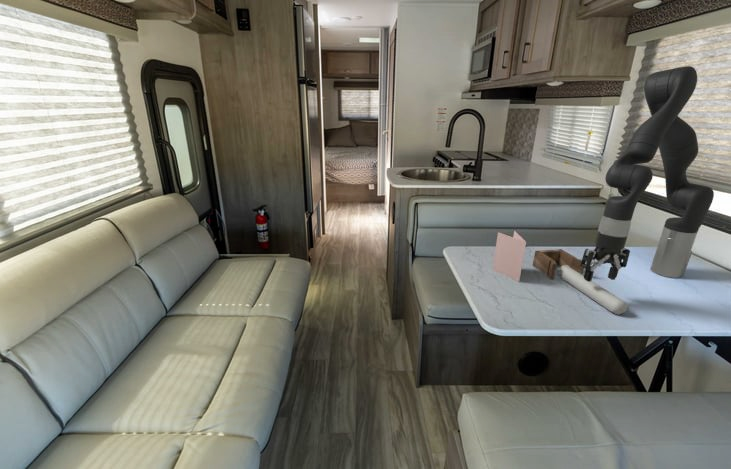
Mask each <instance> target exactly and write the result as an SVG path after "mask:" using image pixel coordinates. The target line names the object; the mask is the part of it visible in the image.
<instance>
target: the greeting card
mask: <svg viewBox="0 0 731 469" xmlns="http://www.w3.org/2000/svg"><path fill="white" fill-rule="evenodd" d="M527 246H528V244H527V242H526V240H525V239H524V238H523V237H522V236H521V235H519V233H517V231H515V230H514V231H513V235H512V236H510V235H507V234H505V233H501V232H497V236H496V243H495V250H494V255H493V256H494V258H493V262H492V263H493V264H492V271H494V272H496V273H499V274H501V275H503V276H505V277H507V278H509V279H511V280H514V281H516V282H519V283H520V279H521V273H522V269H523V263H524V256H525V251H526V248H527Z"/></svg>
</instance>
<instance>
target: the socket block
mask: <svg viewBox="0 0 731 469" xmlns="http://www.w3.org/2000/svg"><path fill="white" fill-rule="evenodd" d="M581 261H582V259H579V258H578V257H576V256H574V255H572V254H570V253H569V252H567V251H566V250H564V249H561V248H557V249H556V248H555V249H545V250H544V249H543V250H535V251H534V256H533V260H532V266H533V267H534V268H535V269H537V270H539V271H540V272H542V273H543V274H545V275H546V276H547V277H548V280H551V281H552V280H554V279H555V278H554V277H555V274H556V269H557V266H558V267H560V268H561V267H562V266H565V265H568V266H569V267H571V268H572V269H573V270H575V271H577V272H578V273H580V274H581V275H583V276H584V272H585V268H583V267H581V266H580V264H581Z"/></svg>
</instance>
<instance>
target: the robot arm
mask: <svg viewBox="0 0 731 469" xmlns="http://www.w3.org/2000/svg"><path fill="white" fill-rule="evenodd" d="M697 83H698V73H697V69H696V68H694V67H693V66H691V65H690V66H689V65H687V66H680V67H679V66H678V67H675V68H670V69H669V68H668V69H665V70H659V71H656V72H653V73H651V74H649V75H648V76H647V77H646V78H645V82H644V98H645V101H646V104H647V107H648V110H649V113H650V115H651V116H650V117H648V119H646V120H645V121H644V122H642V123H641V124H640V125H639V126H638V127H637V128H636V130H635V131H634V132H633V134H632V136H631V138H630V141H629V143H628V144H627V147H626V149H625V150H624V152H622V154H621V155H620V156H618V158H617V159H616V161H614V162H613V164H612V165H611V166H609V168H608V170H607V172H606V174H605V178H604V180H605V183H606V185H607V186H609V187H610V188H613V189H620V190H626V191H630V193H629V194H628V195H616V196H615V195H613V196H610V197H608V199H607V200H606V204H605V207H604V210H603V215H602V217H601V219H600V222H599V226H598V229H597V233H596V235H595V236H596V237H595V241H594V243H595V248H594V249H592V250H591V249H589V248H586V249H585V250H584V251H583V254H582V257H581V258H582V259H581V260H582V261H581V264H580V266H581V267H583V268H584V273H583V276H584V279H585V280H586V281H588V282H591V281H593V276H594V273H595V272H594V271H595V270H596V269H597V268H598V267H600V266H601V265H602V264H603V265H605V264H610V267H609V271H608V274H607V278H608V279H610V280H612V281H614V280H616V278H617V277H618V274H619V270H620V269H622V268H626V267H627V265H628V261H629V257H630V253H631V250H630V249H628V248H626V247H625V246H626V243H627V239H628V235H629V232H630V229H631V225H632V223H631V222H632V219H633V216H634V212H635V209H636V206H637V204H638V202H639V200H640V198H641V197H642V195H643V194H644V193H645V191H646V189H647V188H648V187H649V186H650V184H651V182H652V180H653V177H654V176H653V174H654V173H653V171H652V169H651V168H650V167H648V166H644V165H641V164H646V163H649V162H651V161H652V160H654V158H655V156H656V153H657V152H658V149H659V154H660V158H661V160H662V166H663V172H664V177H665V178H664V179H665V193H666V200H667V204H668V205H669V206H670V207H672V208H675V209H678V210H682V211H685V212H684V214H683V216H681V217H676V216H675V217H669V218H666V220H665V222H664V225H663V228H662V230H661V233H660V234H661V235H660V237H659V240H658V244H657V246H656V249H655V253H654V255H653V258H652V262H651V265H650V268H649V269H650V271H651V272H653V273H655V274H656V275H659V276H663V277H665V278H666V277H667V278H673V279H677V278H682V277H683V276H684V275H685V272H686V270H687V267H688V264H689V262H690V259H691V256H692V254H693V251H692V249H693V246H694V243H695V240H696V238H697V236H698V233H699V230H700V227H701V226H702V225H703V223H704V221H705V219H706V217H707V214H708V213H709V210H710V208H711V205H712V204H713V201H714V196H715V192H714V189H713V188H712V187H710V186H706V185H701V184H697V183H691V182H689V180H688V179H687V178H688V177H687V170H688V168H689V167H690V166H691V165H692V163H693V162H694V161H695V159H696V158H697V156H698V154H699V144H698V143H699V142H698V138H697V133H696V131H695V130H694V128H693V127H692V126H691V125H690V124H689V123H687V122H686V121H685V120H684V119H683V118H682V117H679V114H680V113H681V112H682V110H683V109H684V107H685V106H686V105H687V103H688V102H689V100H690V98H691V97H692V96H693V94H694V93H695V92H694V91H695V90H696V87H697ZM639 164H640V165H639ZM595 260H596V261H595Z"/></svg>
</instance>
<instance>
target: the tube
mask: <svg viewBox="0 0 731 469" xmlns="http://www.w3.org/2000/svg"><path fill="white" fill-rule="evenodd" d="M556 276H557V277H559V278H560V279H561V280H563V281H565V282H566V283H567V284H569V285H571V286H573V287H574V288H575V289H577V290H578V291H580V292H582V293H583V295H586V296H587V297H588V298H590V299H592V300H593V301H594V302H596V303H598V304H599V305H601V306H602V307H603V308H604V309H607V311H609V312H610V313H612V314H614V315H619V316H620V315H622V314H624V313H626V312H627V311H628V304H627V302H626V301H624V299H622V298H620V297H618V296H617V295H615V294H614V293H612V292H610V291H609V290H607V289H605V287H602V286H601V285H599V284H597V283H596V282H594V281H593V280H591V282H588V281H586V280H585V279H584V274H583V275H581V274H580V273H578V272H577V271H575V270H573V269H572V268H571V267H569V266H568V265H565V266H562V267H560V268H559V269H558V271H557V274H556Z"/></svg>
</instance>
